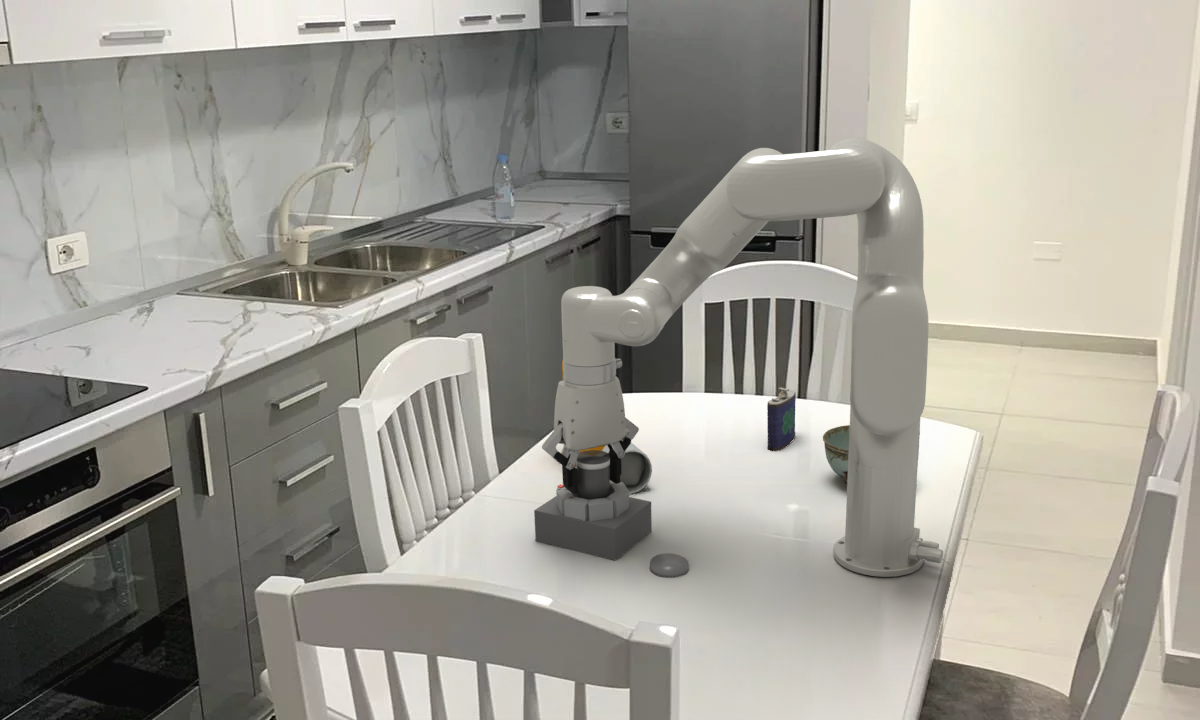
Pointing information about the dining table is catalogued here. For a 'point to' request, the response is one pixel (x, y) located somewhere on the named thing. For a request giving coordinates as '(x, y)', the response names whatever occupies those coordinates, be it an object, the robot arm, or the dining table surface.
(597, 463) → the lens
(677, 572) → the lens cap
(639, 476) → the ceramic mug
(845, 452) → the bowl
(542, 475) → the dining table surface
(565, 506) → the camera body
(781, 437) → the flask
